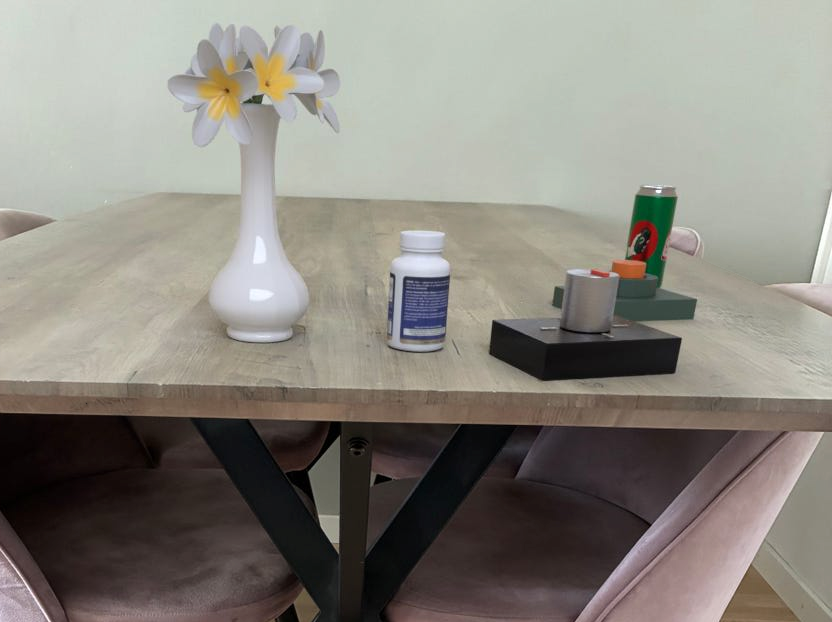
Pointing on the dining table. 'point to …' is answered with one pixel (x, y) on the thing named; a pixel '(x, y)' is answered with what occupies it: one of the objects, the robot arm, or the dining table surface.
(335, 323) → the dining table surface
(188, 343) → the dining table surface
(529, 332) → the dial panel
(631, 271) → the button
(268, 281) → the flower vase
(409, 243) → the pill bottle
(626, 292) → the button block
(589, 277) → the dial
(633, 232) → the soda can
